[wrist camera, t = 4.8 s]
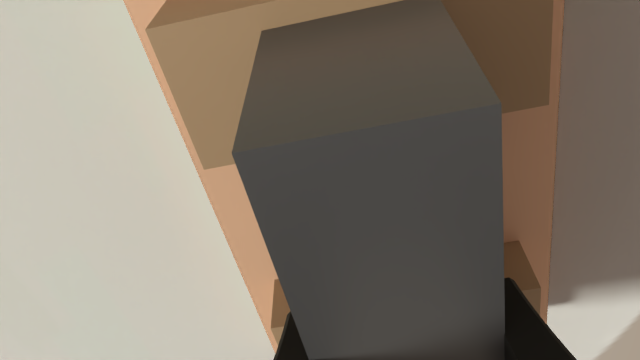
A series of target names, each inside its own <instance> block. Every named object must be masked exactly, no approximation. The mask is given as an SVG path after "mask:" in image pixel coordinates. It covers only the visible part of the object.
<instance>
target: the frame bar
mask: <svg viewBox="0 0 640 360" xmlns="http://www.w3.org/2000/svg"><path fill="white" fill-rule="evenodd" d="M232 156H233V159H234V161H235V164H236V167H237V169H238V172H239V175H240V177H241V180H242V183H243V185H244V188H245V191H246V193H247V196H248V199H249V201H250V204H251V207H252V209H253V212H254V215H255V217H256V220H257V223H258V225H259V228H260V231H261V233H262V236H263V239H264V241H265V244H266V247H267V249H268V252H269V255H270V257H271V260H272V263H273V265H274V268H275V271H276V273H277V276H278V279H279V281H280V284H281V287H282V289H283V292H284V295H285V297H286V300H287V303H288V305H289V308H290V311H291V313H292V316H293V319H294V321H295V324H296V327H297V329H298V332H299V335H300V337H301V340H302V343H303V345H304V348H305V351H306V353H307V356H308V359H309V360H505V356H504V334H505V293H504V231H503V168H502V106H501V101H500V100H499V98H498V96H497V95H496V93H495V91H494V90H493V88H492V86H491V85H490V83H489V81H488V79H487V78H486V76H485V74H484V73H483V71H482V69H481V68H480V66H479V64H478V63H477V61H476V59H475V57H474V56H473V54H472V52H471V51H470V49H469V47H468V46H467V44H466V42H465V41H464V39H463V37H462V36H461V34H460V32H459V30H458V29H457V27H456V25H455V24H454V22H453V20H452V19H451V17H450V15H449V14H448V12H447V10H446V8H445V7H444V5H443V3H442V2H441V0H403V1H398V2H394V3H389V4H384V5H380V6H375V7H370V8H365V9H361V10H356V11H351V12H347V13H342V14H337V15H333V16H328V17H323V18H319V19H314V20H309V21H305V22H300V23H295V24H291V25H286V26H281V27H277V28H272V29H267V30H263V31H261V35H260V39H259V43H258V47H257V51H256V55H255V59H254V63H253V68H252V72H251V76H250V80H249V84H248V88H247V92H246V96H245V100H244V104H243V108H242V112H241V116H240V120H239V124H238V129H237V133H236V137H235V141H234V145H233V149H232Z"/></svg>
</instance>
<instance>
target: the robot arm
mask: <svg viewBox="0 0 640 360" xmlns="http://www.w3.org/2000/svg"><path fill="white" fill-rule="evenodd" d="M504 293H505V334H504V356H505V360H576V358H575V357H574V356H573V355H572V354H571V353H570V352H569V350H568V349H567V348H566V347H565V346H564V345H563V344H562V342H561V341H560V340H559V339H558V338H557V336H556V335H555V334H554V333H553V332H552V330H551V329H550V328H549V327H548V325H547V324H546V323H545V322H544V320H543V319H542V318H541V317H540V315H539V314H538V313H537V311H536V310H535V309H534V308H533V306H532V305H531V304H530V302H529V301H528V299H527V298H526V297H525V295H524V294H523V292H522V291H521V290H520V288H519V287H518V285H517V284H516V282H515V281H514V280H513V279H511V278H509V277H508V278H504ZM274 360H309V359H308V356H307V353H306V351H305V348H304V345H303V343H302V340H301V337H300V335H299V332H298V329H297V327H296V324H295V321H294V319H293V316H292V313H291V311H290V312H289V313H288V314H287V317H286V321H285V325H284V328H283V332H282V335H281V338H280V342H279V345H278V348H277V351H276V354H275V357H274Z"/></svg>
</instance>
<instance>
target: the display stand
mask: <svg viewBox="0 0 640 360" xmlns="http://www.w3.org/2000/svg"><path fill="white" fill-rule="evenodd" d="M398 1H403V0H124V3H125V5H126V7H127V10H128V12H129V14H130V17H131V19H132V21H133V24H134V26H135V28H136V31H137V33H138V35H139V38H140V40H141V42H142V45H143V47H144V49H145V52H146V54H147V56H148V59H149V61H150V63H151V65H152V68H153V70H154V72H155V75H156V77H157V79H158V82H159V84H160V86H161V89H162V91H163V93H164V96H165V98H166V100H167V103H168V105H169V107H170V110H171V112H172V114H173V117H174V119H175V121H176V124H177V126H178V128H179V131H180V133H181V135H182V137H183V140H184V142H185V144H186V147H187V149H188V151H189V154H190V156H191V158H192V161H193V163H194V165H195V168H196V170H197V172H198V175H199V177H200V179H201V182H202V184H203V186H204V189H205V191H206V193H207V196H208V198H209V200H210V203H211V205H212V207H213V209H214V212H215V214H216V216H217V219H218V221H219V223H220V226H221V228H222V230H223V233H224V235H225V237H226V240H227V242H228V244H229V247H230V249H231V251H232V254H233V256H234V258H235V261H236V263H237V265H238V268H239V270H240V272H241V275H242V277H243V279H244V281H245V284H246V286H247V288H248V291H249V293H250V295H251V298H252V300H253V302H254V305H255V307H256V309H257V312H258V314H259V316H260V319H261V321H262V323H263V326H264V328H265V330H266V333H267V335H268V337H269V340H270V342H271V344H272V347H273V349H274V351H275V353H276V351H277V348H278V345H279V342H280V338H281V335H282V332H283V328H284V325H285V321H286V317H287V314H288V313H289V312H290V308H289V305H288V303H287V300H286V297H285V295H284V292H283V289H282V287H281V284H280V281H279V279H278V276H277V273H276V271H275V268H274V265H273V263H272V260H271V257H270V255H269V252H268V249H267V247H266V244H265V241H264V239H263V236H262V233H261V231H260V228H259V225H258V223H257V220H256V217H255V215H254V212H253V209H252V207H251V204H250V201H249V199H248V196H247V193H246V191H245V188H244V185H243V183H242V180H241V177H240V175H239V172H238V169H237V167H236V164H235V161H234V159H233V156H232V149H233V145H234V141H235V137H236V133H237V129H238V124H239V120H240V116H241V112H242V108H243V104H244V100H245V96H246V92H247V88H248V84H249V80H250V76H251V72H252V68H253V63H254V59H255V55H256V51H257V47H258V43H259V39H260V35H261V31H263V30H267V29H272V28H277V27H281V26H286V25H291V24H295V23H300V22H305V21H309V20H314V19H319V18H323V17H328V16H333V15H337V14H342V13H347V12H351V11H356V10H361V9H365V8H370V7H375V6H380V5H384V4H389V3H394V2H398ZM441 2H442V3H443V5H444V7H445V8H446V10H447V12H448V14H449V15H450V17H451V19H452V20H453V22H454V24H455V25H456V27H457V29H458V30H459V32H460V34H461V36H462V37H463V39H464V41H465V42H466V44H467V46H468V47H469V49H470V51H471V52H472V54H473V56H474V57H475V59H476V61H477V63H478V64H479V66H480V68H481V69H482V71H483V73H484V74H485V76H486V78H487V79H488V81H489V83H490V85H491V86H492V88H493V90H494V91H495V93H496V95H497V96H498V98H499V100H500V101H501V106H502V168H503V231H504V278H508V277H509V278H511V279H513V280H514V281H515V282H516V284H517V285H518V287H519V288H520V290H521V291H522V292H523V294H524V295H525V297H526V298H527V299H528V301H529V302H530V304H531V305H532V306H533V308H534V309H535V310H536V311H537V313H538V314H539V315H540V317H541V318H542V319H543V320H544V322H545V323H546V324H547V308H548V290H549V272H550V253H551V235H552V217H553V199H554V181H555V163H556V145H557V127H558V108H559V90H560V72H561V54H562V36H563V18H564V0H441Z"/></svg>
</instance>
